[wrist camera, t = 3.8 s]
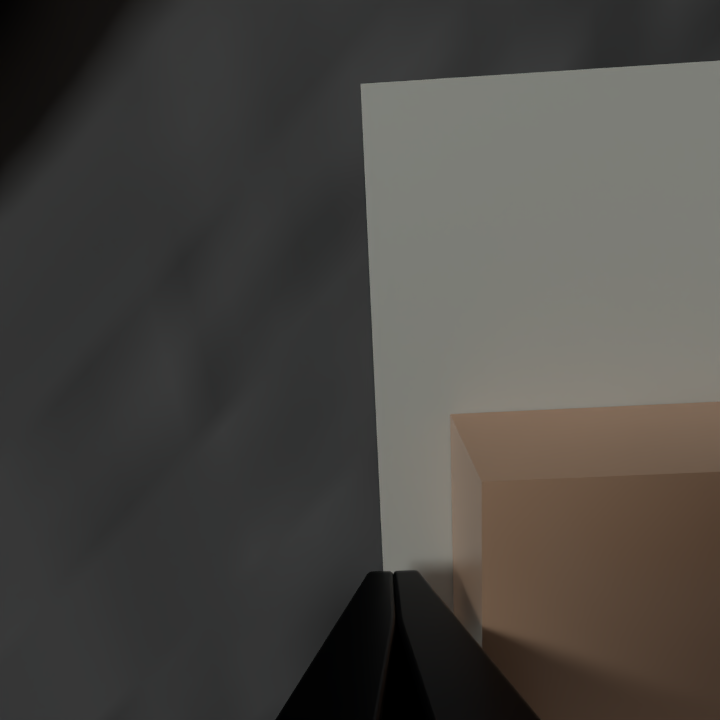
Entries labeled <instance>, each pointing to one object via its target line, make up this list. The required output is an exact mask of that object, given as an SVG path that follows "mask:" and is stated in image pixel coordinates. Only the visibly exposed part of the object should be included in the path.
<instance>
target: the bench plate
mask: <svg viewBox="0 0 720 720" xmlns="http://www.w3.org/2000/svg"><path fill="white" fill-rule="evenodd" d="M361 101H362V122H363V144H364V165H365V186H366V208H367V229H368V251H369V272H370V294H371V315H372V337H373V358H374V380H375V401H376V423H377V444H378V466H379V487H380V509H381V530H382V552H383V571H391V572H392V573H393V574H394V572H395V571H400V570H417V571H419V572H420V574H421V575H422V576H423V577H424V578H425V580H426V581H427V582H428V583H429V584H430V586H431V587H432V588H433V589H434V590H435V592H436V593H437V594H438V595H439V597H440V598H441V599H442V600H443V601H444V603H445V604H446V605H447V606H448V607H449V609H450V610H451V611H452V612H453V556H452V498H451V441H450V414H463V413H484V412H506V411H527V410H549V409H570V408H592V407H613V406H635V405H656V404H678V403H699V402H720V61H709V62H693V63H678V64H662V65H647V66H631V67H616V68H600V69H585V70H569V71H554V72H538V73H523V74H507V75H492V76H476V77H461V78H445V79H430V80H414V81H399V82H383V83H368V84H361Z"/></svg>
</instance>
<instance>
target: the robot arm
mask: <svg viewBox="0 0 720 720" xmlns="http://www.w3.org/2000/svg"><path fill="white" fill-rule="evenodd" d="M276 720H541V719H540V718H539V717H538V715H537V714H536V713H535V712H534V711H533V709H532V708H531V707H530V706H529V705H528V703H527V702H526V701H525V700H524V698H523V697H522V696H521V695H520V694H519V692H518V691H517V690H516V689H515V688H514V686H513V685H512V684H511V683H510V682H509V680H508V679H507V678H506V677H505V675H504V674H503V673H502V672H501V671H500V669H499V668H498V667H497V666H496V665H495V663H494V662H493V661H492V660H491V658H490V657H489V656H488V655H487V654H486V652H485V651H484V650H483V649H482V648H481V646H480V645H479V644H478V643H477V641H476V640H475V639H474V638H473V637H472V635H471V634H470V633H469V632H468V631H467V629H466V628H465V627H464V626H463V624H462V623H461V622H460V621H459V620H458V618H457V617H456V616H455V615H454V614H453V612H452V611H451V610H450V609H449V607H448V606H447V605H446V604H445V603H444V601H443V600H442V599H441V598H440V597H439V595H438V594H437V593H436V592H435V590H434V589H433V588H432V587H431V586H430V584H429V583H428V582H427V581H426V580H425V578H424V577H423V576H422V575H421V574H420V572H419V571H417V570H400V571H395V572H394V574H393V573H392V572H391V571H373V572H369V573H368V574H367V575H366V577H365V579H364V580H363V582H362V583H361V585H360V587H359V588H358V590H357V591H356V593H355V594H354V596H353V598H352V599H351V601H350V602H349V604H348V606H347V607H346V609H345V610H344V612H343V613H342V615H341V617H340V618H339V620H338V621H337V623H336V625H335V626H334V628H333V629H332V631H331V632H330V634H329V636H328V637H327V639H326V640H325V642H324V644H323V645H322V647H321V648H320V650H319V651H318V653H317V655H316V656H315V658H314V659H313V661H312V663H311V664H310V666H309V667H308V669H307V670H306V672H305V674H304V675H303V677H302V678H301V680H300V682H299V683H298V685H297V686H296V688H295V690H294V691H293V693H292V694H291V696H290V697H289V699H288V701H287V702H286V704H285V705H284V707H283V709H282V710H281V712H280V713H279V715H278V716H277V718H276Z"/></svg>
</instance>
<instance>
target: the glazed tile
mask: <svg viewBox="0 0 720 720" xmlns="http://www.w3.org/2000/svg"><path fill="white" fill-rule="evenodd" d="M450 441H451V498H452V556H453V614H454V615H455V616H456V617H457V618H458V620H459V621H460V622H461V623H462V624H463V626H464V627H465V628H466V629H467V631H468V632H469V633H470V634H471V635H472V637H473V638H474V639H475V640H476V641H477V643H478V644H479V645H480V646H481V648H482V649H483V650H484V651H485V652H486V654H487V655H488V656H489V657H490V658H491V660H492V661H493V662H494V663H495V665H496V666H497V667H498V668H499V669H500V671H501V672H502V673H503V674H504V675H505V677H506V678H507V679H508V680H509V682H510V683H511V684H512V685H513V686H514V688H515V689H516V690H517V691H518V692H519V694H520V695H521V696H522V697H523V698H524V700H525V701H526V702H527V703H528V705H529V706H530V707H531V708H532V709H533V711H534V712H535V713H536V714H537V715H538V717H539V718H540V719H541V720H720V402H699V403H678V404H656V405H635V406H613V407H592V408H570V409H549V410H527V411H506V412H484V413H463V414H450Z"/></svg>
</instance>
